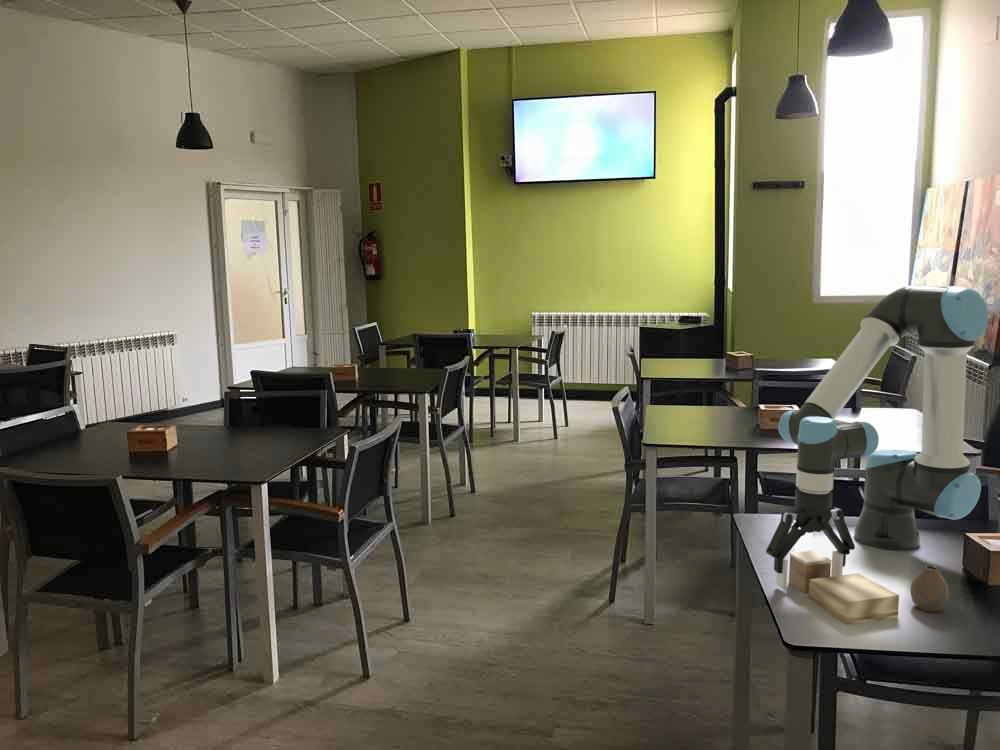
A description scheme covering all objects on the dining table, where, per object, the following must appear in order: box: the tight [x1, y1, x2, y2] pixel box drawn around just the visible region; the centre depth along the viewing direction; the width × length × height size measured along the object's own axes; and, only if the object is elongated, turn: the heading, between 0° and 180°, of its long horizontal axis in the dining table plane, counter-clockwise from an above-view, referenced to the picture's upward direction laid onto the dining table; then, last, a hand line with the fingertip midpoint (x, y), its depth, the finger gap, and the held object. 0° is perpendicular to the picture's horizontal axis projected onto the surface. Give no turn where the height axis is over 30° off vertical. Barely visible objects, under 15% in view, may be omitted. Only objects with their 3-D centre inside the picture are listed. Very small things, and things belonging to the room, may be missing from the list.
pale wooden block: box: [788, 549, 832, 595], centre depth 182 cm, size 6×6×7 cm
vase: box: [910, 564, 950, 613], centre depth 171 cm, size 7×7×9 cm
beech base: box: [807, 573, 900, 625], centre depth 171 cm, size 12×12×5 cm
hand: (808, 583), depth 182 cm, fingers open, 13 cm apart
